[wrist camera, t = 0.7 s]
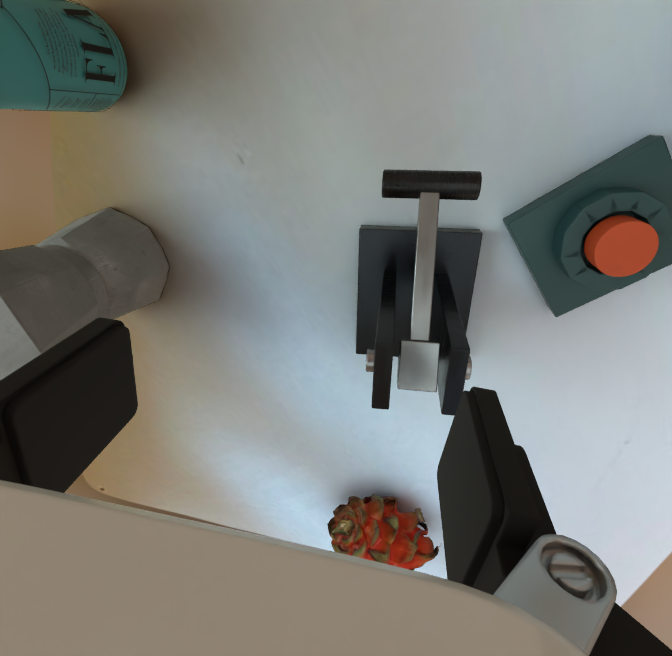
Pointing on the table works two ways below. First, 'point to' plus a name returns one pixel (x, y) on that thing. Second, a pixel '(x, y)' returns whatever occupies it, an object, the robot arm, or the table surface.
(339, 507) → the dragon fruit
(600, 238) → the button
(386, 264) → the bracket
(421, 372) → the lever
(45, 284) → the coffeepot
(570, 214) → the button box
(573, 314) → the table surface
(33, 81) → the beverage bottle
